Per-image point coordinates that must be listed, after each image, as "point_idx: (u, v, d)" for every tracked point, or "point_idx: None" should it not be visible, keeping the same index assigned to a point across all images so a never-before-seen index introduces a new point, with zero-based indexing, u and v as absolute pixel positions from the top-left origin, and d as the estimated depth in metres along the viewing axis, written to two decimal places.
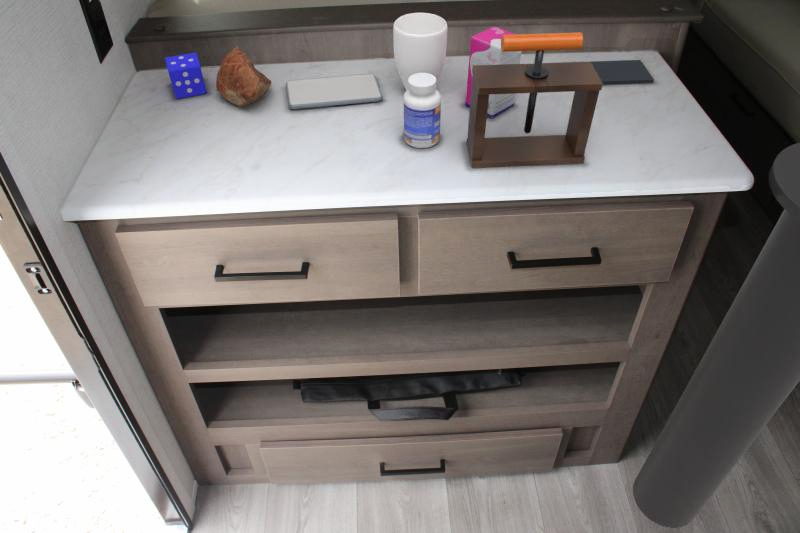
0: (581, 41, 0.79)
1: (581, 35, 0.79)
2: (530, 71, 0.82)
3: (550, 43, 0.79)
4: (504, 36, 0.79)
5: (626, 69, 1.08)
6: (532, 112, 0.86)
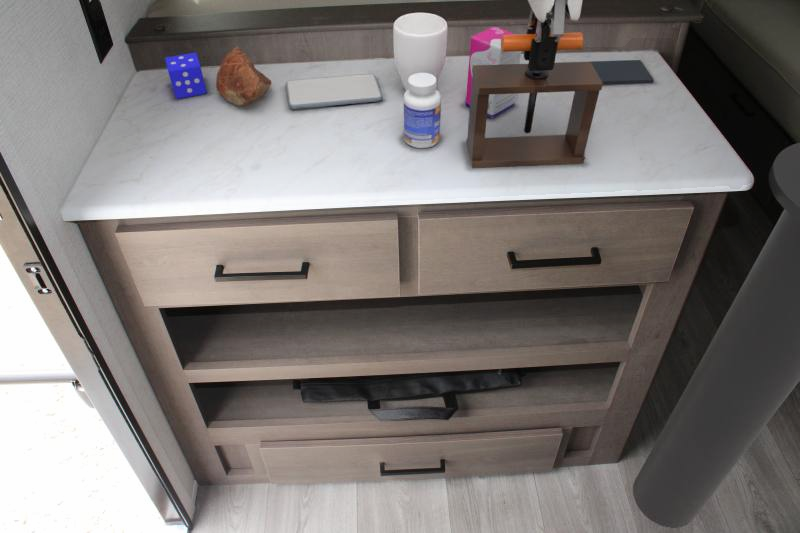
0: (581, 41, 0.79)
1: (581, 35, 0.79)
2: (530, 71, 0.82)
3: None
4: (504, 36, 0.79)
5: (626, 69, 1.08)
6: (532, 112, 0.86)
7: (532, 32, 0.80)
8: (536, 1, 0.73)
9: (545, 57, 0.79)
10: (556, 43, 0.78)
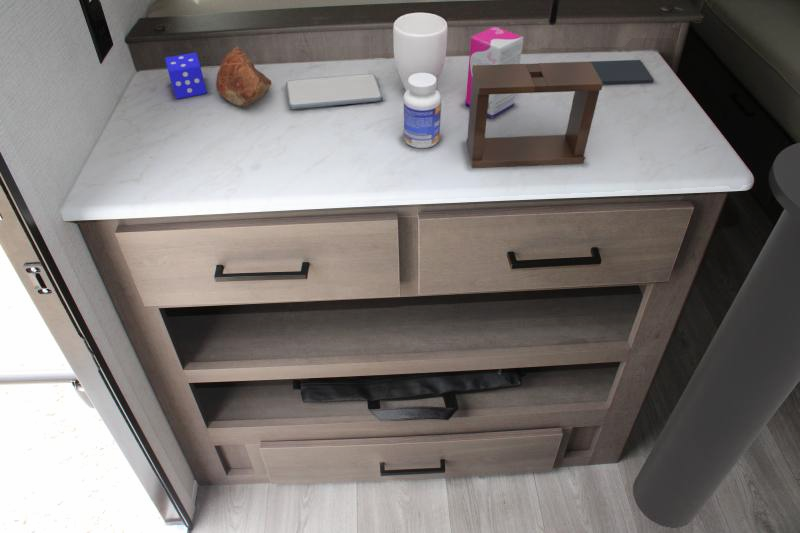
0: None
1: None
2: None
3: None
4: None
5: (626, 69, 1.08)
6: None
7: None
8: None
9: None
10: None
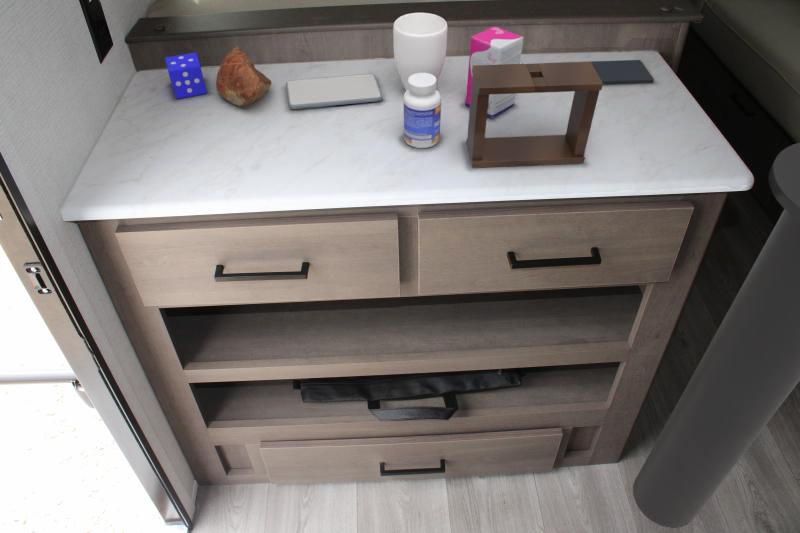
0: None
1: None
2: None
3: None
4: None
5: (626, 69, 1.08)
6: None
7: None
8: None
9: None
10: None
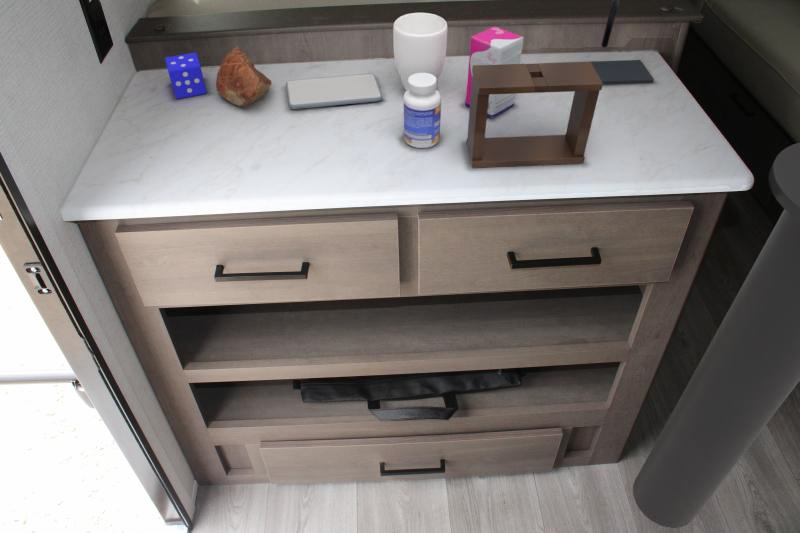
0: None
1: None
2: None
3: None
4: None
5: (626, 69, 1.08)
6: (610, 27, 1.02)
7: None
8: None
9: None
10: None
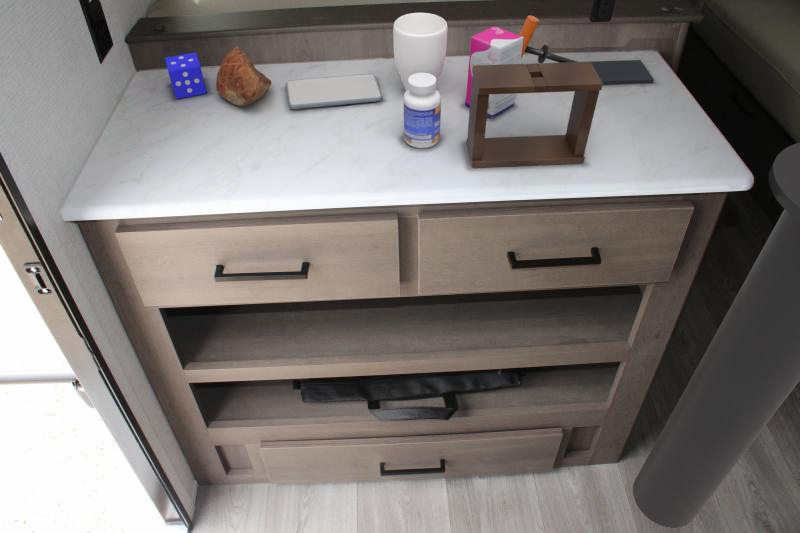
0: (531, 21, 1.00)
1: (528, 19, 1.01)
2: (539, 58, 1.06)
3: None
4: None
5: (626, 69, 1.08)
6: None
7: None
8: None
9: (604, 10, 0.94)
10: None
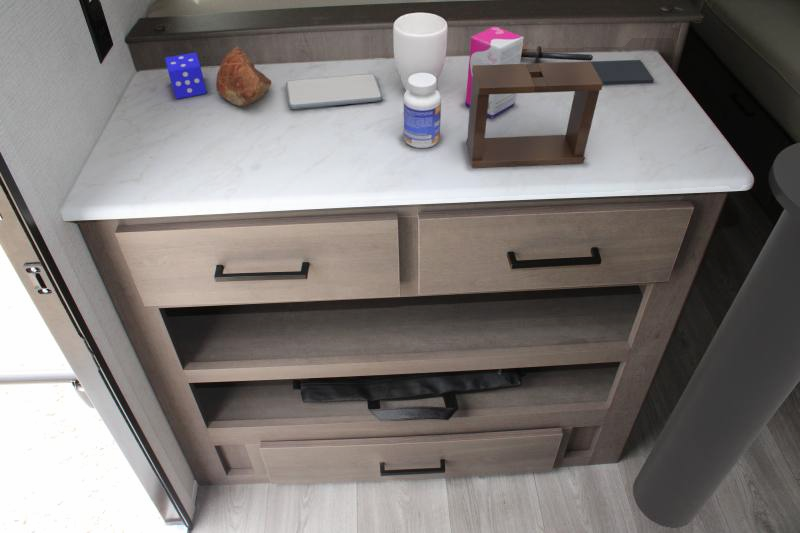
0: None
1: None
2: (536, 57, 1.09)
3: None
4: None
5: (626, 69, 1.08)
6: None
7: None
8: None
9: None
10: None
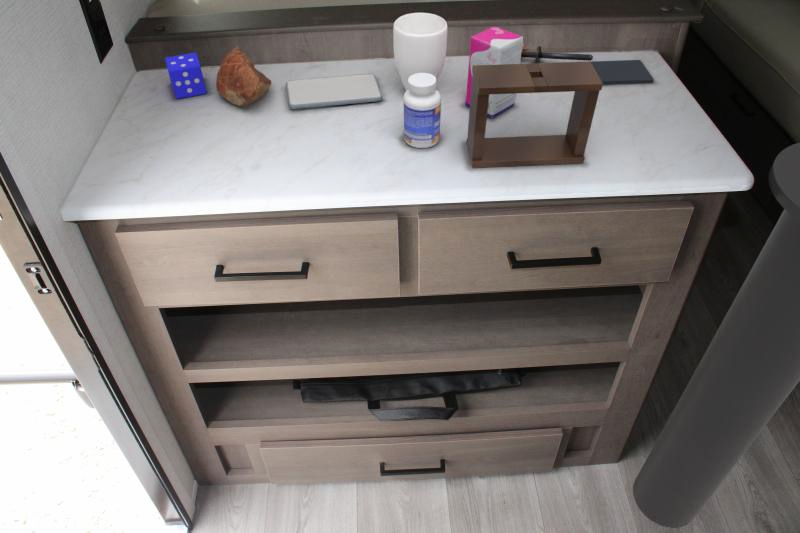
0: None
1: None
2: (536, 57, 1.09)
3: None
4: None
5: (626, 69, 1.08)
6: None
7: None
8: None
9: None
10: None
